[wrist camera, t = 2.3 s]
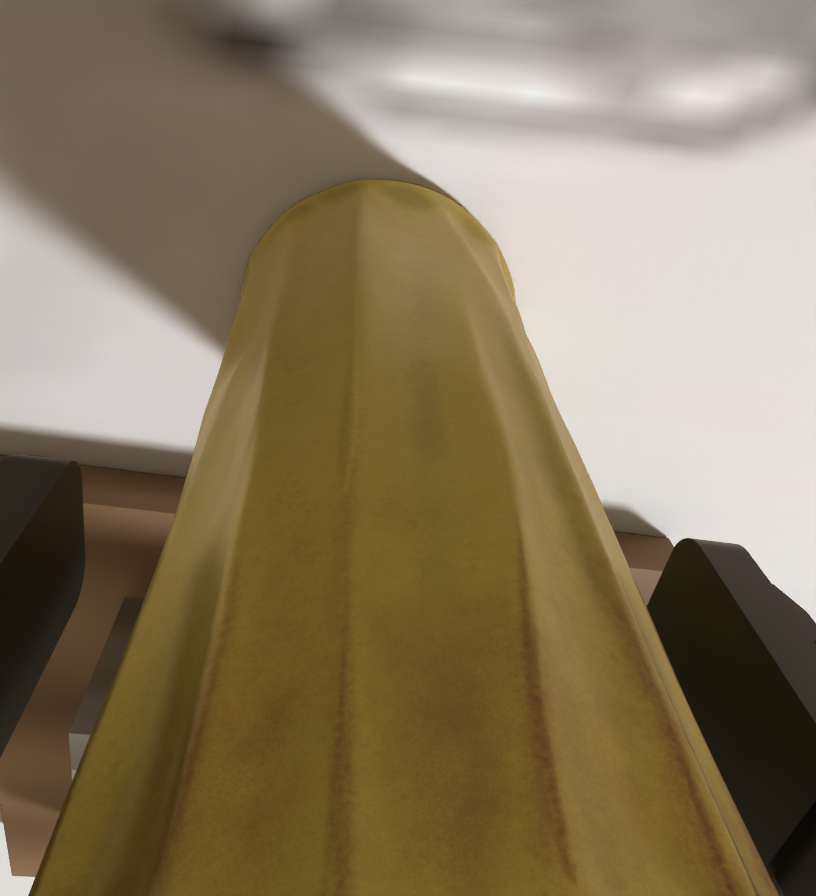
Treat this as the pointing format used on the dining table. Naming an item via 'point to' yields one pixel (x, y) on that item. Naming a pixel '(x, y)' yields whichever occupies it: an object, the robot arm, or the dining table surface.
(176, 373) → the dining table surface
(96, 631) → the dock
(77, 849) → the vase
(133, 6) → the dining table surface
